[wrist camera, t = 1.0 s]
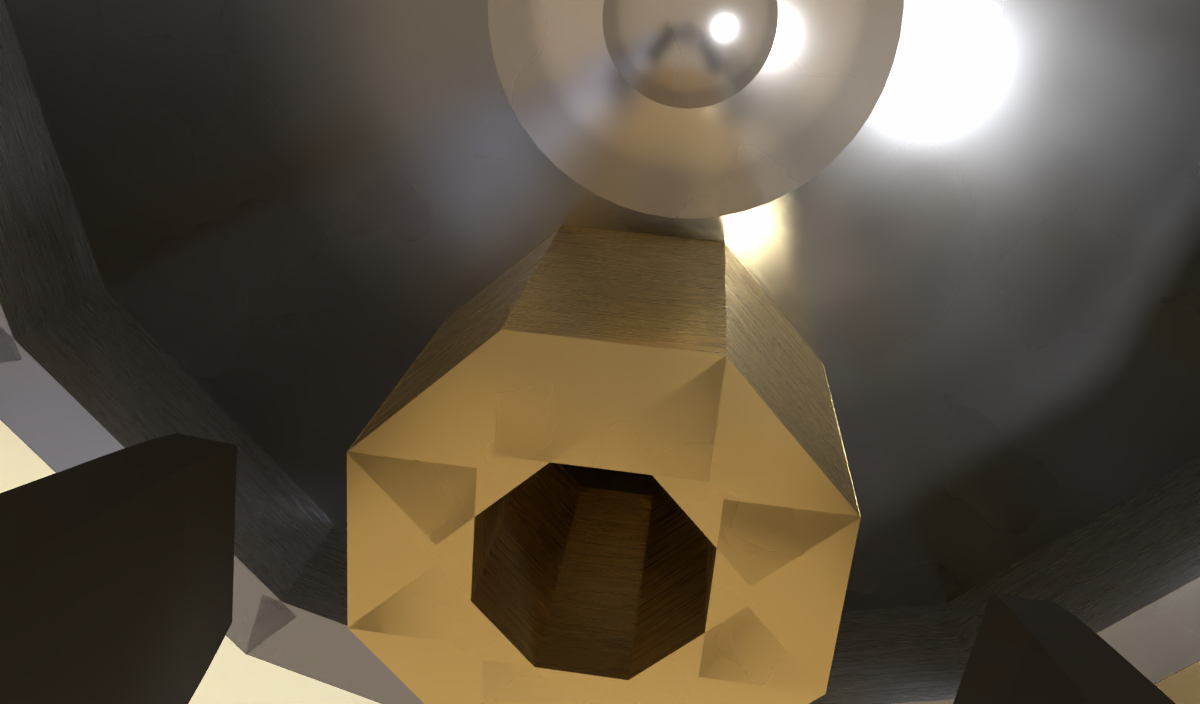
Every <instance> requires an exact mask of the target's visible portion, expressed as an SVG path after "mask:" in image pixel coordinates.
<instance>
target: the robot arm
mask: <svg viewBox="0 0 1200 704" xmlns="http://www.w3.org/2000/svg"><path fill="white" fill-rule="evenodd" d="M236 469H237V445H235V444H230V443H225V442H220V441H214V440H209V439H204V438H199V437H194V436H189V435H183V434H178V433H175V434H171V435H167V436H163V437H159V438H155V439H152V440H148V441H145V442H142V443H139V444H136V445H133V446H130V447H127V448H124V449H121V450H118V451H115V452H113V453H110V454H107V455H104V456H101V457H99V458H96V459H93V460H90V461H88V462H85V463H82V464H80V465H77V466H74V467H71V468H69V469H66V470H63V471H61V472H58V473H55V474H52V475H50V476H47V477H44V478H41V479H39V480H36V481H33V482H30V483H28V484H25V485H22V486H20V487H17V488H14V489H11V490H9V491H6V492H3V493H0V704H188V703H189V701H190V700H191V698H192V696H193V694H194V692H195V691H196V689H197V687H198V685H199V684H200V682H201V680H202V678H203V677H204V675H205V673H206V671H207V669H208V667H209V666H210V664H211V662H212V660H213V658H214V656H215V654H216V652H217V650H218V648H219V646H220V645H221V643H222V641H223V639H224V637H225V635H226V633H227V631H228V629H229V627H230V625H231V624H232V612H233V576H234V540H235V505H236ZM953 704H1175V703H1174V702H1173V701H1172V700H1171V699H1170V698H1168V697H1167V696H1166V695H1165V694H1164V693H1163V692H1162V691H1161V690H1160V689H1158V688H1157V687H1156V686H1155V685H1154V684H1153V683H1152V682H1151V681H1150V680H1148V679H1147V678H1146V677H1145V676H1144V675H1143V674H1142V673H1141V672H1140V671H1138V670H1137V669H1136V668H1135V667H1134V666H1133V665H1132V664H1131V663H1130V662H1128V661H1127V660H1126V659H1125V658H1124V657H1123V656H1122V655H1121V654H1119V653H1118V652H1117V651H1116V650H1115V649H1114V648H1113V647H1111V646H1110V645H1109V644H1108V643H1107V642H1106V641H1105V640H1103V639H1102V638H1101V637H1100V636H1099V635H1098V634H1096V633H1095V632H1094V631H1093V630H1092V629H1091V628H1089V627H1088V626H1087V625H1086V624H1085V623H1083V622H1082V621H1081V620H1080V619H1078V618H1077V617H1076V616H1075V615H1073V614H1072V613H1071V612H1069V611H1068V610H1066V609H1065V608H1064V607H1062V606H1061V605H1060V604H1057V603H1051V602H1046V601H1041V600H1036V599H1031V598H1026V597H1020V596H1015V595H1010V594H1005V593H1000V592H995V591H992V593H991V596H990V599H989V602H988V604H987V607H986V610H985V613H984V616H983V619H982V622H981V625H980V627H979V630H978V633H977V636H976V639H975V642H974V645H973V648H972V651H971V653H970V656H969V659H968V662H967V665H966V668H965V671H964V674H963V676H962V679H961V682H960V685H959V688H958V691H957V694H956V697H955V700H954V702H953Z"/></svg>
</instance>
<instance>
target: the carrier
mask: <svg viewBox="0 0 1200 704" xmlns="http://www.w3.org/2000/svg"><path fill="white" fill-rule="evenodd" d="M561 225H569V226H578V227H587V228H596V229H605V230H614V231H624V232H633V233H642V234H651V235H660V236H669V237H679V238H688V239H697V240H706V241H715V242H724V243H725V244H726V245H727V246H728V247H729V249H730V250H731V251H732V252H733V254H734V255H735V256H736V257H737V259H738V260H739V261H740V262H741V263H742V265H743V266H744V267H745V268H746V270H747V271H748V272H749V273H750V275H751V276H752V277H753V278H754V279H755V281H756V282H757V283H758V284H759V286H760V287H761V288H762V289H763V291H764V292H765V293H766V294H767V295H768V297H769V298H770V299H771V300H772V302H773V303H774V304H775V305H776V307H777V308H778V309H779V310H780V312H781V313H782V314H783V315H784V316H785V318H786V319H787V320H788V321H789V323H790V324H791V325H792V326H793V328H794V329H795V330H796V331H797V332H798V334H799V335H800V336H801V337H802V339H803V340H804V341H805V342H806V344H807V345H808V346H809V347H810V348H811V350H812V351H813V352H814V353H815V355H816V356H817V357H818V358H819V360H820V361H821V362H822V363H823V365H824V369H825V373H826V377H827V381H828V385H829V389H830V393H831V397H832V401H833V405H834V409H835V414H836V418H837V422H838V426H839V430H840V434H841V438H842V442H843V446H844V450H845V454H846V458H847V462H848V466H849V470H850V475H851V479H852V483H853V487H854V491H855V495H856V499H857V503H858V507H859V511H860V515H861V518H860V523H859V529H858V534H857V539H856V544H855V549H854V554H853V559H852V564H851V569H850V574H849V579H848V584H847V589H846V594H845V599H844V604H843V609H842V614H841V619H840V624H839V629H838V634H837V639H836V645H835V650H834V655H833V660H832V665H831V670H830V675H829V680H828V685H827V690H826V694H825V695H823V696H821V697H819V698H818V699H816V700H814V701H813V702H811V703H809V704H953V702H954V700H955V697H956V694H957V691H958V688H959V685H960V682H961V679H962V676H963V674H964V671H965V668H966V665H967V662H968V659H969V656H970V653H971V651H972V648H973V645H974V642H975V639H976V636H977V633H978V630H979V627H980V625H981V622H982V619H983V616H984V613H985V610H986V607H987V604H988V602H989V599H990V596H991V593H992V591H995V592H1000V593H1005V594H1010V595H1015V596H1020V597H1026V598H1031V599H1036V600H1041V601H1046V602H1051V603H1057V604H1060V605H1061V606H1062V607H1064V608H1065V609H1066V610H1068V611H1069V612H1071V613H1072V614H1073V615H1075V616H1076V617H1077V618H1078V619H1080V620H1081V621H1082V622H1083V623H1085V624H1086V625H1087V626H1088V627H1089V628H1091V629H1092V630H1093V631H1094V632H1095V633H1096V634H1098V635H1099V636H1100V637H1101V638H1102V639H1103V640H1105V641H1106V642H1107V643H1108V644H1109V645H1110V646H1111V647H1113V648H1114V649H1115V650H1116V651H1117V652H1118V653H1119V654H1121V655H1122V656H1123V657H1124V658H1125V659H1126V660H1127V661H1128V662H1130V663H1131V664H1132V665H1133V666H1134V667H1135V668H1136V669H1137V670H1138V671H1140V672H1141V673H1142V674H1143V675H1144V676H1145V677H1146V678H1147V679H1148V680H1150V681H1151V682H1152V683H1153V684H1155V683H1157V682H1159V681H1161V680H1163V679H1165V678H1167V677H1169V676H1171V675H1173V674H1175V673H1177V672H1178V671H1180V670H1182V669H1184V668H1186V667H1188V666H1190V665H1192V664H1194V663H1196V662H1198V661H1200V0H0V420H1V421H2V422H3V423H4V424H5V425H6V426H8V427H9V428H10V429H11V430H12V431H13V432H14V433H15V434H16V435H17V436H18V437H19V438H20V439H21V440H22V441H23V442H24V443H25V444H26V445H27V446H28V447H29V448H31V449H32V450H33V451H34V452H35V453H36V454H37V455H38V456H39V457H40V458H41V459H42V460H43V461H44V462H45V463H46V464H47V465H48V466H49V467H50V468H51V469H53V470H54V471H55V472H56V473H58V472H61V471H63V470H66V469H69V468H71V467H74V466H77V465H80V464H82V463H85V462H88V461H90V460H93V459H96V458H99V457H101V456H104V455H107V454H110V453H113V452H115V451H118V450H121V449H124V448H127V447H130V446H133V445H136V444H139V443H142V442H145V441H148V440H152V439H155V438H159V437H163V436H167V435H171V434H175V433H178V434H183V435H189V436H194V437H199V438H204V439H209V440H214V441H220V442H225V443H230V444H235V445H237V469H236V505H235V540H234V576H233V612H232V624H231V625H230V627H229V629H228V631H227V633H226V636H227V637H228V638H229V639H230V640H231V641H233V642H234V643H235V644H236V645H237V646H238V647H239V648H240V649H241V650H242V651H243V652H244V653H245V654H247V655H250V656H253V657H255V658H258V659H261V660H264V661H266V662H269V663H272V664H275V665H277V666H280V667H283V668H285V669H288V670H291V671H294V672H296V673H299V674H302V675H305V676H307V677H310V678H313V679H316V680H318V681H321V682H324V683H327V684H329V685H332V686H335V687H337V688H340V689H343V690H346V691H348V692H351V693H354V694H357V695H359V696H362V697H365V698H368V699H370V700H373V701H376V702H378V703H381V704H424V703H423V702H422V701H421V700H420V699H419V698H418V697H417V696H416V695H415V694H414V693H413V692H412V691H411V690H410V689H409V688H408V687H407V686H406V685H405V684H404V683H403V682H402V681H401V680H400V679H399V678H398V677H397V676H396V675H395V674H394V673H393V672H392V671H391V670H390V669H389V668H388V667H387V666H386V665H385V664H384V663H383V662H382V661H381V660H380V659H379V658H378V657H376V656H375V655H374V654H373V653H372V652H371V651H370V650H369V649H368V648H367V647H366V646H365V645H364V644H363V643H362V642H361V641H360V640H359V639H358V638H357V637H356V636H355V635H354V634H353V633H352V632H351V631H350V630H349V629H348V625H347V451H348V449H349V448H350V447H351V445H352V444H353V443H354V441H355V440H356V439H357V437H358V436H359V435H360V433H361V432H362V431H363V429H364V428H365V427H366V425H367V424H368V423H369V421H370V420H371V419H372V417H373V416H374V415H375V413H376V412H377V411H378V409H379V408H380V407H381V405H382V404H383V403H384V401H385V400H386V399H387V397H388V396H389V395H390V393H391V392H392V391H393V389H394V388H395V387H396V385H397V384H398V383H399V381H400V380H401V379H402V377H403V376H404V375H405V373H406V372H407V371H408V369H409V368H410V367H411V365H412V364H413V363H414V361H415V360H416V359H417V357H418V356H419V355H420V353H421V352H422V351H423V349H424V348H425V347H426V345H427V344H428V343H429V341H430V340H431V339H432V337H433V336H434V335H435V333H436V332H437V331H438V329H439V328H440V327H441V325H442V324H443V323H444V321H445V320H447V319H448V318H449V317H450V316H451V315H453V314H454V313H455V312H456V311H458V310H459V309H460V308H461V307H462V306H464V305H465V304H466V303H467V302H469V301H470V300H471V299H472V298H473V297H475V296H476V295H477V294H478V293H480V292H481V291H482V290H483V289H484V288H486V287H487V286H488V285H489V284H491V283H492V282H493V281H494V280H496V279H497V278H498V277H499V276H500V275H502V274H503V273H504V272H505V271H507V270H508V269H509V268H510V267H511V266H513V265H514V264H515V263H516V262H518V261H519V260H520V259H521V258H522V257H524V256H525V255H526V254H527V253H529V252H530V251H531V250H532V249H533V248H535V247H536V246H537V245H538V244H540V243H541V242H542V241H543V240H545V239H546V238H547V237H548V236H549V235H551V234H552V233H553V232H554V231H556V230H557V229H558V228H559V227H560V226H561ZM562 465H563V466H564V467H565V469H566V470H567V471H568V472H569V473H570V474H571V475H572V476H573V477H574V478H575V480H576V481H577V482H578V483H579V484H580V485H581V486H582V487H589V488H596V489H604V490H612V491H620V492H628V493H636V494H644V495H654V494H655V493H657V492H658V491H660V490H661V489H662V488H663V487H662V486H661V485H660V484H659V482H658V481H657V480H656V479H655V478H654V477H653V476H652V475H648V474H640V473H632V472H624V471H616V470H608V469H600V468H592V467H584V466H576V465H568V464H562Z"/></svg>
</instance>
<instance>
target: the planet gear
mask: <svg viewBox="0 0 1200 704" xmlns="http://www.w3.org/2000/svg"><path fill="white" fill-rule="evenodd" d="M562 464H568V465H576V466H584V467H592V468H600V469H608V470H616V471H624V472H632V473H640V474H648V475H652V476H653V477H654V478H655V479H656V480H657V481H658V482H659V484H660V485H661V486H662V487H663V488H662V489H661V490H660V491H658V492H657V493H655V494H654V495H644V494H636V493H628V492H620V491H612V490H604V489H596V488H589V487H582V486H581V485H580V484H579V483H578V482H577V481H576V480H575V478H574V477H573V476H572V475H571V474H570V473H569V472H568V471H567V470H566V469H565V467H564V466H563V465H562ZM860 518H861V515H860V511H859V507H858V503H857V499H856V495H855V491H854V487H853V483H852V479H851V475H850V470H849V466H848V462H847V458H846V454H845V450H844V446H843V442H842V438H841V434H840V430H839V426H838V422H837V418H836V414H835V409H834V405H833V401H832V397H831V393H830V389H829V385H828V381H827V377H826V373H825V369H824V365H823V363H822V362H821V361H820V360H819V358H818V357H817V356H816V355H815V353H814V352H813V351H812V350H811V348H810V347H809V346H808V345H807V344H806V342H805V341H804V340H803V339H802V337H801V336H800V335H799V334H798V332H797V331H796V330H795V329H794V328H793V326H792V325H791V324H790V323H789V321H788V320H787V319H786V318H785V316H784V315H783V314H782V313H781V312H780V310H779V309H778V308H777V307H776V305H775V304H774V303H773V302H772V300H771V299H770V298H769V297H768V295H767V294H766V293H765V292H764V291H763V289H762V288H761V287H760V286H759V284H758V283H757V282H756V281H755V279H754V278H753V277H752V276H751V275H750V273H749V272H748V271H747V270H746V268H745V267H744V266H743V265H742V263H741V262H740V261H739V260H738V259H737V257H736V256H735V255H734V254H733V252H732V251H731V250H730V249H729V247H728V246H727V245H726V244H725V243H724V242H715V241H706V240H697V239H688V238H679V237H669V236H660V235H651V234H642V233H633V232H624V231H614V230H605V229H596V228H587V227H578V226H569V225H561V226H560V227H559V228H558V229H557V230H556V231H554V232H553V233H552V234H551V235H549V236H548V237H547V238H546V239H545V240H543V241H542V242H541V243H540V244H538V245H537V246H536V247H535V248H533V249H532V250H531V251H530V252H529V253H527V254H526V255H525V256H524V257H522V258H521V259H520V260H519V261H518V262H516V263H515V264H514V265H513V266H511V267H510V268H509V269H508V270H507V271H505V272H504V273H503V274H502V275H500V276H499V277H498V278H497V279H496V280H494V281H493V282H492V283H491V284H489V285H488V286H487V287H486V288H484V289H483V290H482V291H481V292H480V293H478V294H477V295H476V296H475V297H473V298H472V299H471V300H470V301H469V302H467V303H466V304H465V305H464V306H462V307H461V308H460V309H459V310H458V311H456V312H455V313H454V314H453V315H451V316H450V317H449V318H448V319H447V320H445V321H444V323H443V324H442V325H441V327H440V328H439V329H438V331H437V332H436V333H435V335H434V336H433V337H432V339H431V340H430V341H429V343H428V344H427V345H426V347H425V348H424V349H423V351H422V352H421V353H420V355H419V356H418V357H417V359H416V360H415V361H414V363H413V364H412V365H411V367H410V368H409V369H408V371H407V372H406V373H405V375H404V376H403V377H402V379H401V380H400V381H399V383H398V384H397V385H396V387H395V388H394V389H393V391H392V392H391V393H390V395H389V396H388V397H387V399H386V400H385V401H384V403H383V404H382V405H381V407H380V408H379V409H378V411H377V412H376V413H375V415H374V416H373V417H372V419H371V420H370V421H369V423H368V424H367V425H366V427H365V428H364V429H363V431H362V432H361V433H360V435H359V436H358V437H357V439H356V440H355V441H354V443H353V444H352V445H351V447H350V448H349V449H348V451H347V625H348V629H349V630H350V631H351V632H352V633H353V634H354V635H355V636H356V637H357V638H358V639H359V640H360V641H361V642H362V643H363V644H364V645H365V646H366V647H367V648H368V649H369V650H370V651H371V652H372V653H373V654H374V655H375V656H376V657H378V658H379V659H380V660H381V661H382V662H383V663H384V664H385V665H386V666H387V667H388V668H389V669H390V670H391V671H392V672H393V673H394V674H395V675H396V676H397V677H398V678H399V679H400V680H401V681H402V682H403V683H404V684H405V685H406V686H407V687H408V688H409V689H410V690H411V691H412V692H413V693H414V694H415V695H416V696H417V697H418V698H419V699H420V700H421V701H422V702H423V703H424V704H809V703H811V702H813V701H814V700H816V699H818V698H819V697H821V696H823V695H825V694H826V690H827V685H828V680H829V675H830V670H831V665H832V660H833V655H834V650H835V645H836V639H837V634H838V629H839V624H840V619H841V614H842V609H843V604H844V599H845V594H846V589H847V584H848V579H849V574H850V569H851V564H852V559H853V554H854V549H855V544H856V539H857V534H858V529H859V523H860Z"/></svg>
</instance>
